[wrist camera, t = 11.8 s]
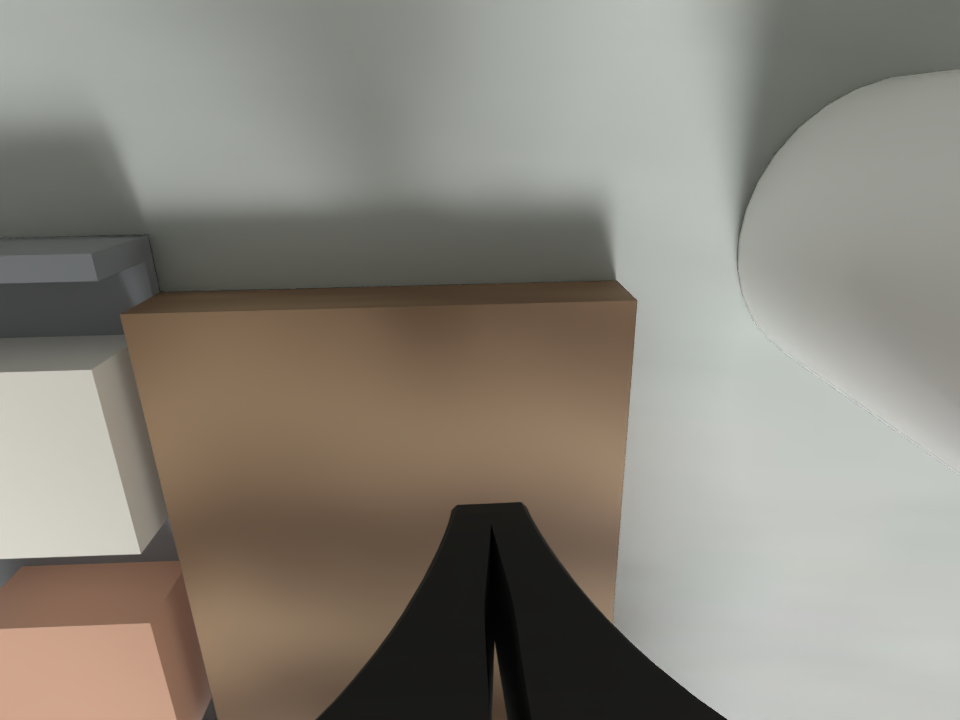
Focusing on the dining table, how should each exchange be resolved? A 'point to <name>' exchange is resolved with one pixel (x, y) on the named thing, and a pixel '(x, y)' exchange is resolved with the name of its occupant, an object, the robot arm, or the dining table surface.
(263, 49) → the dining table surface
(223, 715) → the board
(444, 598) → the robot arm
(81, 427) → the tile cream
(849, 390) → the pill bottle
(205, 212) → the dining table surface
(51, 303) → the tray
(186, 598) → the tile terracotta
